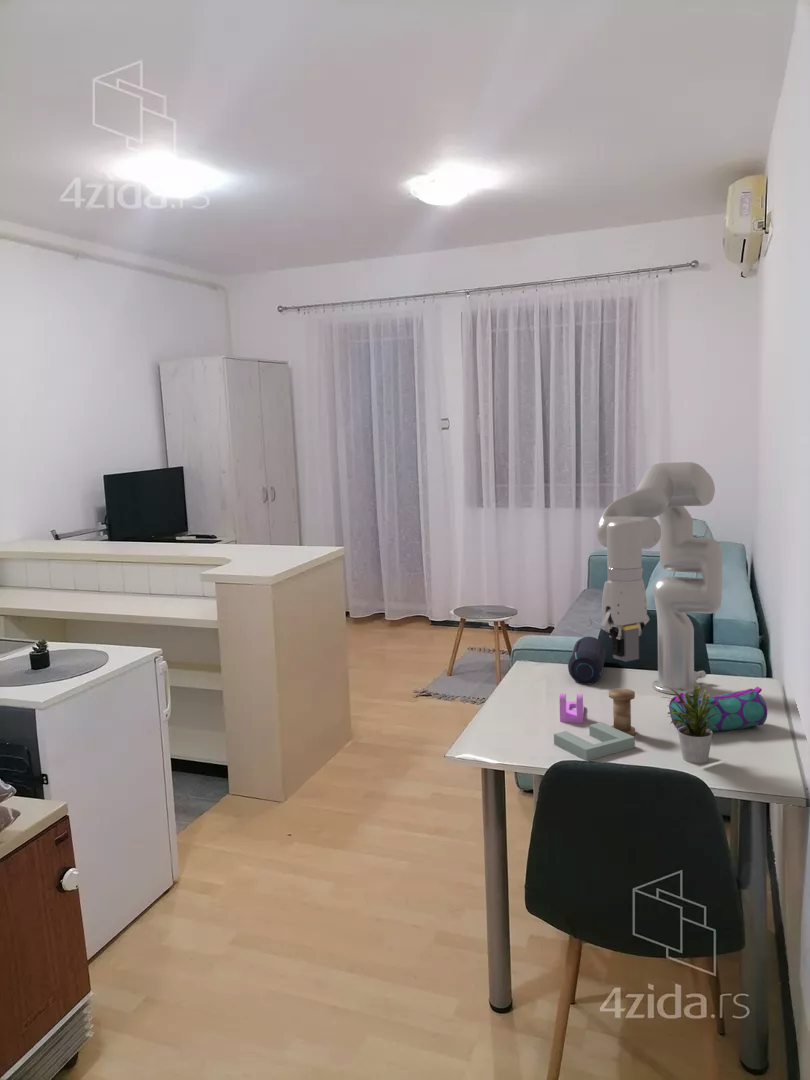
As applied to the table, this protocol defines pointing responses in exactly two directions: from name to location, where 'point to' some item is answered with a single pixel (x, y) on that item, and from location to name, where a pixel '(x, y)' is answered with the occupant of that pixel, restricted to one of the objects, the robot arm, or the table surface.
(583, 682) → the portable speaker
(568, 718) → the bracket
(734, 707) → the pencil case
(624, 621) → the robot arm
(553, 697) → the table surface
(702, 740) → the house plant
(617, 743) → the notched board
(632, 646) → the yellow and grey block
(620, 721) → the bobbin
